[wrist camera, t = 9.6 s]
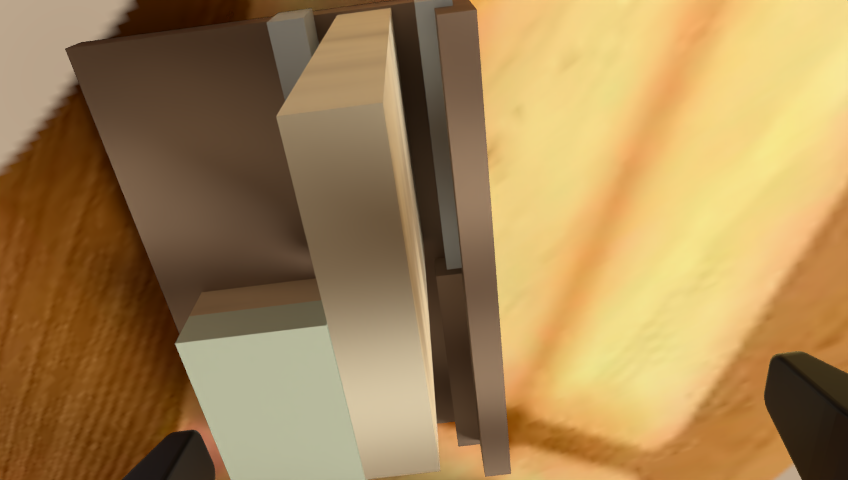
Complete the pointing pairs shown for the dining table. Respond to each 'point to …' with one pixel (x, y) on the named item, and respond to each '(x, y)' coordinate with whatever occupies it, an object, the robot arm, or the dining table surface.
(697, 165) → the dining table surface
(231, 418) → the sage offcut
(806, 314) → the dining table surface
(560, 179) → the dining table surface
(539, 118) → the dining table surface
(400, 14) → the walnut rack
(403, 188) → the birch sheet
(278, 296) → the oak offcut
